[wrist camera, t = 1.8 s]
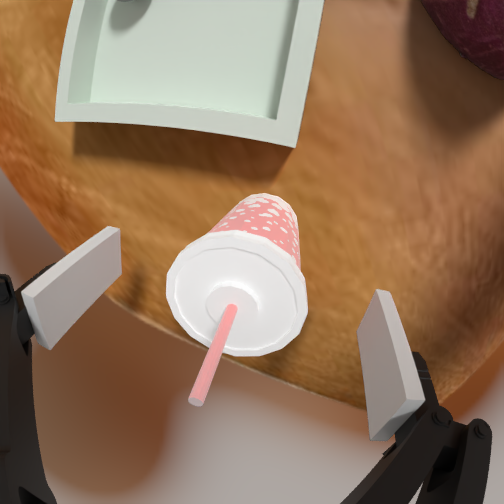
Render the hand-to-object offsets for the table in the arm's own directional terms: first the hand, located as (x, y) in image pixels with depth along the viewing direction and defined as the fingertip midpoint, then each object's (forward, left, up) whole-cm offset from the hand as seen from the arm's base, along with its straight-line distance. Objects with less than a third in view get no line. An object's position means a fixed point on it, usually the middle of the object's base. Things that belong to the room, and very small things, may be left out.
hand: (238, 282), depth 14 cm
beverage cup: (0, 0, -7) cm, 7 cm away
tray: (+7, -13, -7) cm, 16 cm away
